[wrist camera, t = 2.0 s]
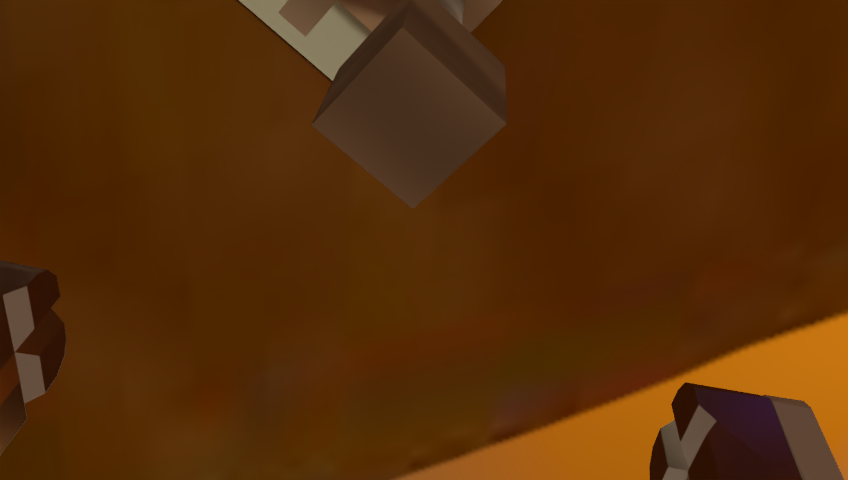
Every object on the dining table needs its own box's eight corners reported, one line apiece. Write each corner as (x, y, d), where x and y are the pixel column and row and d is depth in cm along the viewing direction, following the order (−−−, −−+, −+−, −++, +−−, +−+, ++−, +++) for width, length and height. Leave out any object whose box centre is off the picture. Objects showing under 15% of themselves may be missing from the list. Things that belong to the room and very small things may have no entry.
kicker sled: (420, 74, 27) (384, 234, 18) (309, -27, 25) (211, 95, 17) (525, -32, 25) (541, 92, 16) (410, -150, 23) (358, -84, 14)
